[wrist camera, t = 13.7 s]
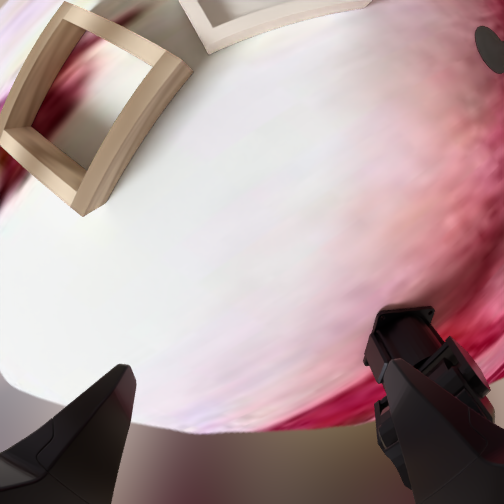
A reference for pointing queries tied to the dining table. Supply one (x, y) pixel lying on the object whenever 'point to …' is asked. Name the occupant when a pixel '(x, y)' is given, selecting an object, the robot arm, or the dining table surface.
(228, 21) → the dock
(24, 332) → the dining table surface
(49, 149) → the frame
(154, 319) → the dining table surface
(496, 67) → the sundae
